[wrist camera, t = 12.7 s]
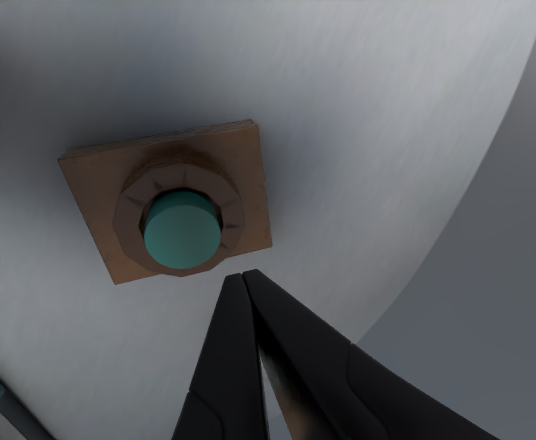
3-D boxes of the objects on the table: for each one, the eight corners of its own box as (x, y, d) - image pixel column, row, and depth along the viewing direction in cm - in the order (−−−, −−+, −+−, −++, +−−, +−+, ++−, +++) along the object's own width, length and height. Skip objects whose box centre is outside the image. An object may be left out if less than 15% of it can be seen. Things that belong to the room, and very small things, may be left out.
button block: (118, 268, 20) (109, 306, 17) (66, 149, 16) (42, 172, 13) (266, 234, 22) (280, 263, 19) (251, 118, 18) (267, 132, 15)
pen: (77, 461, 29) (63, 471, 28) (-22, 352, 21) (-45, 363, 20) (79, 472, 28) (64, 482, 27) (-23, 363, 20) (-47, 375, 19)
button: (157, 257, 17) (156, 276, 16) (137, 198, 15) (133, 214, 14) (221, 242, 18) (226, 259, 16) (209, 184, 16) (213, 198, 15)
